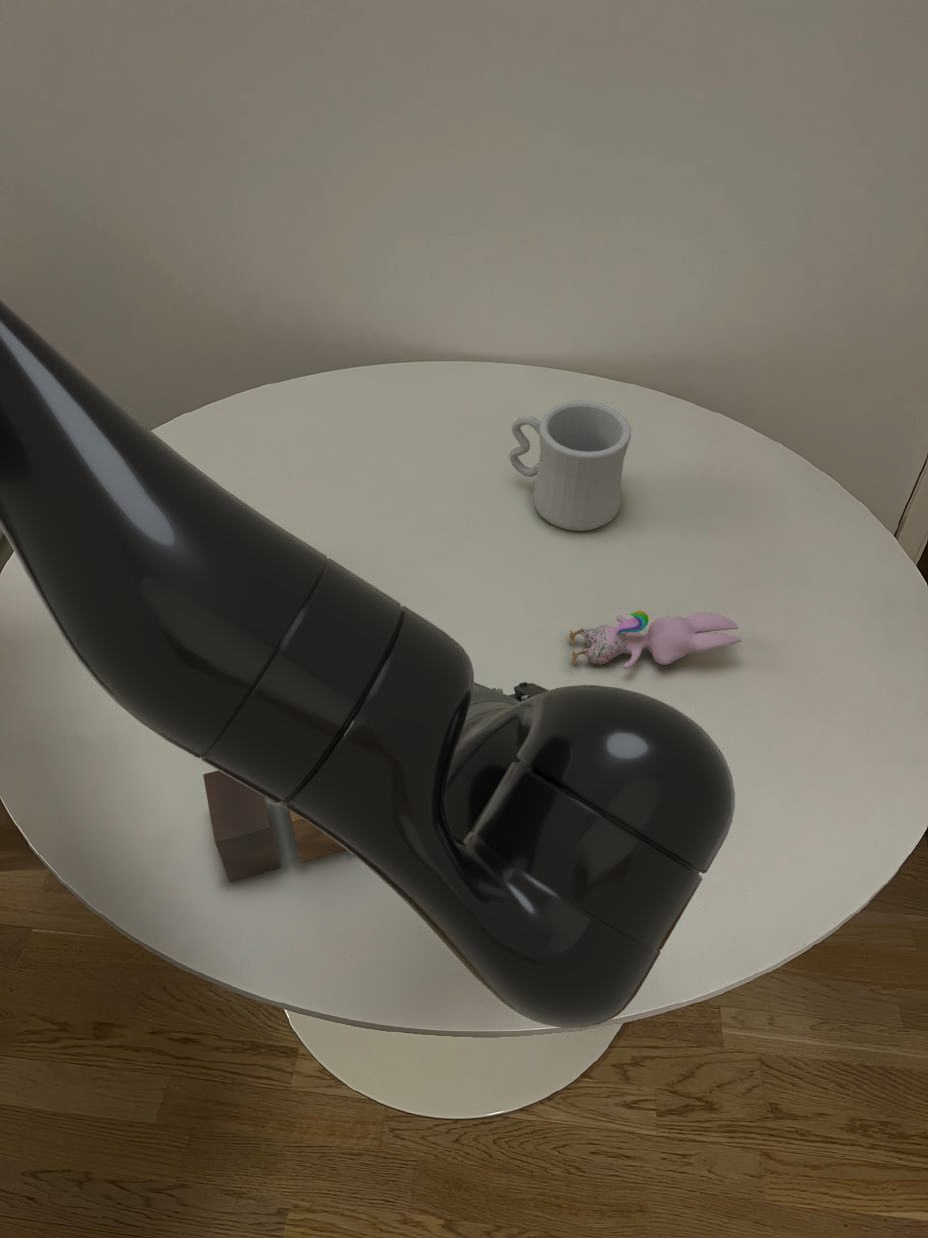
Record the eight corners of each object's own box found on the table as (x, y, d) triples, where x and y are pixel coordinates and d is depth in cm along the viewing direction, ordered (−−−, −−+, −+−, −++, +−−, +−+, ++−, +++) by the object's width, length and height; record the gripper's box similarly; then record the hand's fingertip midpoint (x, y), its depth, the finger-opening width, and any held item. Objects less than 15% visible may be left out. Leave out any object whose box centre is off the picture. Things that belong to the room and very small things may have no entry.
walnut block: (228, 882, 76) (214, 842, 71) (216, 816, 79) (202, 773, 75) (281, 867, 76) (270, 827, 72) (266, 802, 80) (256, 760, 76)
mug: (632, 492, 106) (646, 415, 98) (599, 545, 100) (611, 467, 93) (526, 457, 110) (531, 380, 102) (489, 506, 104) (491, 428, 97)
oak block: (300, 862, 77) (291, 821, 72) (285, 798, 81) (275, 755, 76) (351, 848, 78) (345, 807, 73) (334, 785, 81) (327, 742, 77)
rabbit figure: (575, 690, 90) (745, 672, 88) (570, 647, 85) (749, 628, 84) (569, 637, 94) (732, 619, 92) (564, 594, 90) (735, 574, 88)
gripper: (589, 653, 49) (501, 637, 65) (303, 724, 46) (284, 689, 62) (619, 800, 50) (525, 749, 66) (339, 879, 47) (311, 806, 63)
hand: (408, 720), depth 64 cm, fingers open, 8 cm apart
